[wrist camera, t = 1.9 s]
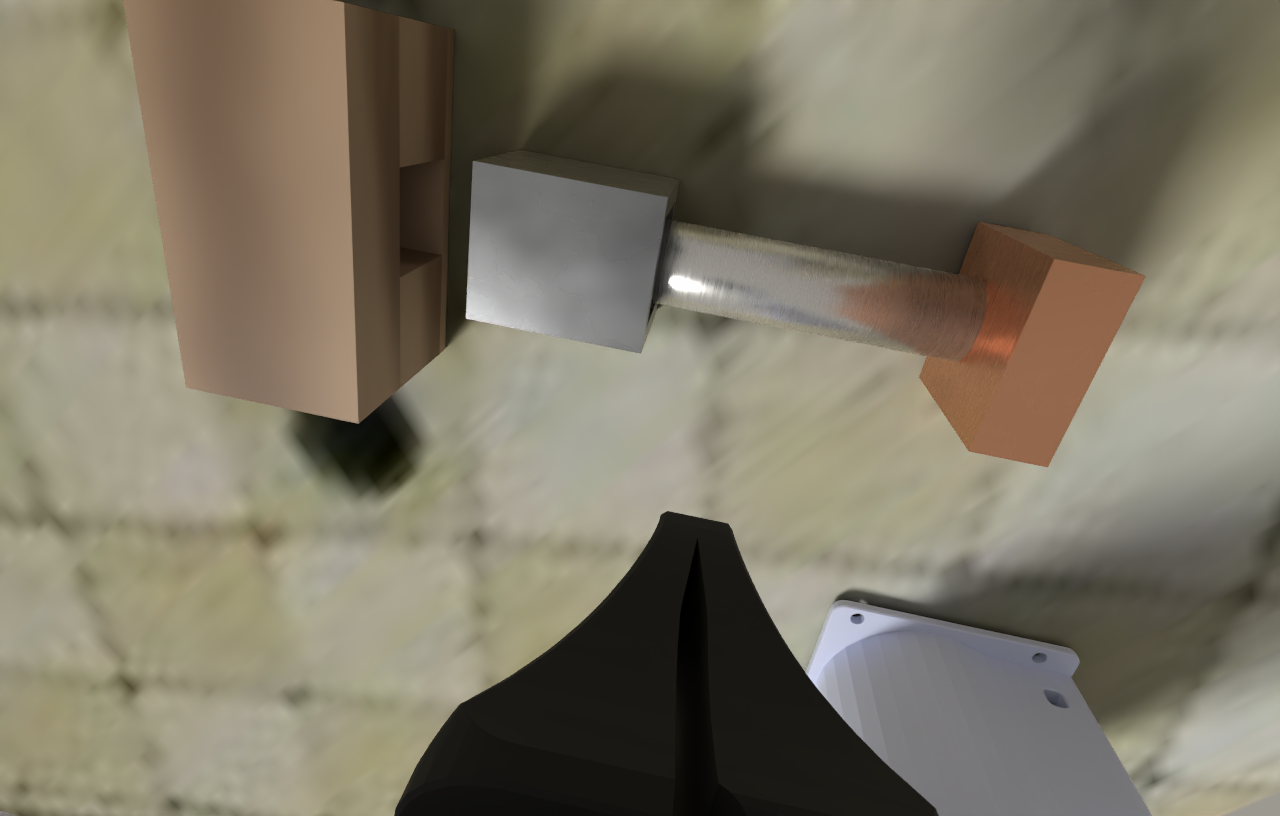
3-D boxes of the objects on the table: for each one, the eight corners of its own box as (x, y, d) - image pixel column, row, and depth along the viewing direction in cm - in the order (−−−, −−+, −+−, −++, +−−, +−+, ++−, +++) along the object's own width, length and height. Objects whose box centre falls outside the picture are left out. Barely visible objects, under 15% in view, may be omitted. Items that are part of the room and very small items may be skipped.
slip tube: (1047, 234, 19) (1145, 275, 14) (980, 389, 21) (1047, 466, 17) (512, 134, 20) (446, 145, 15) (501, 294, 22) (441, 344, 17)
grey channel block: (680, 179, 20) (667, 197, 16) (656, 310, 22) (641, 353, 18) (520, 149, 20) (472, 160, 16) (510, 281, 22) (465, 318, 18)
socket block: (454, 30, 19) (343, 2, 14) (445, 348, 23) (358, 423, 18) (290, 1, 19) (117, -38, 14) (311, 322, 24) (186, 387, 18)
